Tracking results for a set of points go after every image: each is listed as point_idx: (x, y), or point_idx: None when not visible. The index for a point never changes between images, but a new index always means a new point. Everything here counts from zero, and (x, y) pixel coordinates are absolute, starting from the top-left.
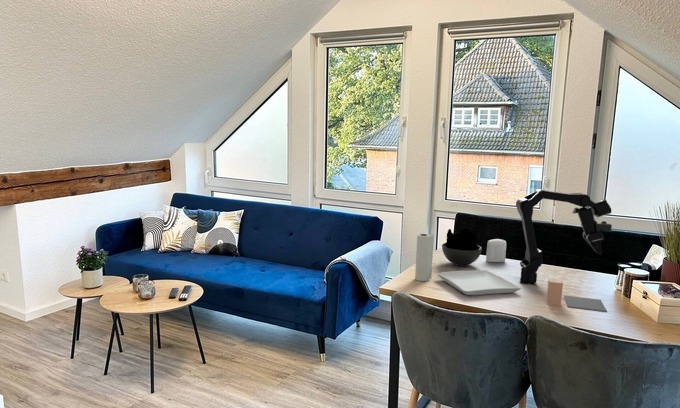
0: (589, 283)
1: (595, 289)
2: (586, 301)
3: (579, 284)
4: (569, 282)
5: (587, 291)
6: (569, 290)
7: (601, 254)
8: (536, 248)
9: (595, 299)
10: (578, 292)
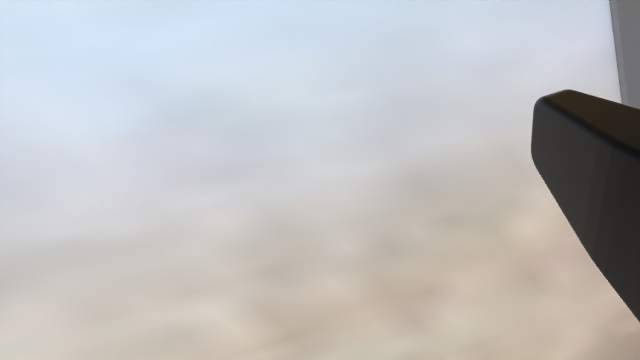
0: (14, 182)
1: (242, 69)
2: None
3: (162, 257)
4: (162, 356)
5: (380, 124)
6: (454, 264)
7: (561, 96)
8: None
9: (629, 3)
10: (467, 184)
